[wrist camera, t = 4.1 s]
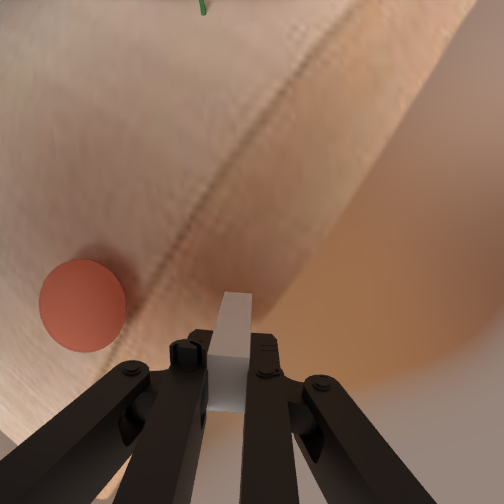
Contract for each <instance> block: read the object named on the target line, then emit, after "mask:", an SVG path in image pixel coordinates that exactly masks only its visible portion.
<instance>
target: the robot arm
mask: <svg viewBox="0 0 504 504" xmlns="http://www.w3.org/2000/svg"><path fill="white" fill-rule="evenodd" d="M251 312H252V293H238V292H224V296H223V299H222V303H221V306H220V310H219V314H218V317H217V321H216V324H215V328H214V331H211V330H200V329H195V330H194V331H193V332H191V333H190V334H189V336H188V338H187V339H182V340H177V341H175V342H173V343H171V345H170V346H169V348H170V363H171V365H170V367H169V369H166V370H161V371H149V367H148V366H147V365H146V364H145V363H143V362H141V361H136V360H129V361H125V362H122V363H120V364H118V365H117V366H115V367H114V368H113V369H112V370H111V371H109V372H108V373H107V374H106V375H104V376H103V377H102V378H101V379H100V380H98V381H97V382H96V383H95V384H93V385H92V386H91V387H90V388H89V389H87V390H86V391H85V392H84V393H82V394H81V395H80V396H79V397H78V398H76V399H75V400H74V401H73V402H71V403H70V404H69V405H68V406H67V407H65V408H64V409H63V410H62V411H60V412H59V413H58V414H57V415H56V416H54V417H53V418H52V419H51V420H49V421H48V422H47V423H46V424H45V425H43V426H42V427H41V428H40V429H38V430H37V431H36V432H35V433H34V434H32V435H31V436H30V437H29V438H27V439H26V440H25V441H24V442H23V443H21V444H20V445H19V446H18V447H16V448H15V449H14V450H13V451H12V452H10V453H9V454H8V455H7V456H5V457H4V458H3V459H2V460H1V461H0V504H91V502H92V501H93V500H94V499H95V498H96V497H97V495H98V494H99V493H100V492H101V491H102V489H103V488H104V487H105V486H106V485H107V483H108V482H109V481H110V480H111V479H112V477H113V476H114V475H115V474H116V473H117V471H118V470H119V469H120V468H121V467H122V465H123V464H124V463H125V462H126V461H127V459H128V458H129V457H130V456H131V454H132V453H133V454H132V456H131V458H130V461H129V463H128V466H127V468H126V471H125V473H124V476H123V478H122V481H121V483H120V486H119V488H118V491H117V493H116V496H115V498H114V501H113V503H112V504H190V502H191V496H192V491H193V486H194V480H195V475H196V469H197V465H198V459H199V454H200V449H201V444H202V439H203V433H204V429H205V424H206V408H207V404H208V410H211V411H221V412H234V413H245V415H244V429H243V447H242V465H241V483H240V499H239V504H299V497H298V486H297V477H296V469H295V460H294V452H293V443H292V434H291V433H294V438H295V440H296V442H297V444H298V446H299V448H300V450H301V452H302V454H303V456H304V458H305V460H306V462H307V464H308V466H309V468H310V470H311V472H312V474H313V476H314V478H315V480H316V482H317V484H318V486H319V487H320V489H321V491H322V493H323V495H324V497H325V499H326V501H327V503H328V504H437V503H436V502H435V501H434V499H433V498H432V497H431V496H430V495H429V494H428V492H427V491H426V490H425V489H424V487H423V486H422V485H421V484H420V483H419V481H418V480H417V479H416V478H415V477H414V475H413V474H412V473H411V471H410V470H409V469H408V468H407V467H406V465H405V464H404V463H403V462H402V460H401V459H400V458H399V457H398V455H397V454H396V453H395V452H394V451H393V449H392V448H391V447H390V446H389V444H388V443H387V442H386V441H385V440H384V438H383V437H382V436H381V435H380V433H379V432H378V431H377V429H375V427H374V426H373V425H372V423H371V422H370V421H369V420H368V418H367V417H366V416H365V415H364V414H363V412H362V411H361V410H360V408H359V407H358V406H357V405H356V403H355V402H354V401H353V399H352V398H351V397H350V396H349V395H348V393H347V392H346V391H345V389H344V388H343V387H342V386H341V384H340V383H339V382H338V381H337V380H336V379H334V378H332V377H330V376H327V375H313V376H309V377H308V378H307V379H305V382H304V383H303V382H298V381H294V380H291V379H289V378H287V377H286V376H284V373H283V371H282V369H281V368H280V361H279V353H278V344H277V339H276V338H275V337H274V336H273V335H272V334H263V333H251Z"/></svg>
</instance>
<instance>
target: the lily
mask: <svg viewBox="0 0 504 504" xmlns="http://www.w3.org/2000/svg"><path fill="white" fill-rule="evenodd" d="M199 2H200V9H201V15H205V14H206V10H205V4H204V0H199Z"/></svg>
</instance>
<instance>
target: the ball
mask: <svg viewBox="0 0 504 504" xmlns="http://www.w3.org/2000/svg"><path fill="white" fill-rule="evenodd" d="M39 309H40V315H41V319H42V322H43V324H44V326H45V328H46V330H47V331H48V333H49V334H50V336H51V337H52V338H53V339H54V340H55V341H56V342H57V343H59V344H60V345H62V346H63V347H65V348H67V349H69V350H72V351H76V352H94V351H97V350H100V349H102V348H104V347H106V346H107V345H109V344H110V343H111V342H112V341H113V340H114V339H115V338H116V337H117V336H118V334H119V332H120V331H121V329H122V327H123V324H124V321H125V316H126V300H125V295H124V292H123V289H122V287H121V285H120V283H119V281H118V280H117V278H116V277H115V276H114V274H113V273H112V272H111V271H110V270H108V269H107V268H106V267H104V266H103V265H101V264H99V263H97V262H94V261H91V260H86V259H76V260H70V261H67V262H64V263H62V264H61V265H59V266H57V267H56V268H55V269H54V270H53V271H52V272H51V273H50V274H49V275H48V277H47V278H46V280H45V281H44V283H43V286H42V289H41V292H40V298H39Z"/></svg>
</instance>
